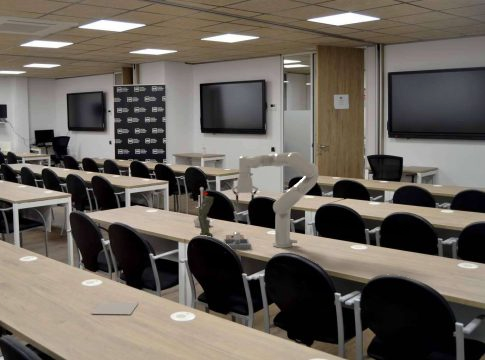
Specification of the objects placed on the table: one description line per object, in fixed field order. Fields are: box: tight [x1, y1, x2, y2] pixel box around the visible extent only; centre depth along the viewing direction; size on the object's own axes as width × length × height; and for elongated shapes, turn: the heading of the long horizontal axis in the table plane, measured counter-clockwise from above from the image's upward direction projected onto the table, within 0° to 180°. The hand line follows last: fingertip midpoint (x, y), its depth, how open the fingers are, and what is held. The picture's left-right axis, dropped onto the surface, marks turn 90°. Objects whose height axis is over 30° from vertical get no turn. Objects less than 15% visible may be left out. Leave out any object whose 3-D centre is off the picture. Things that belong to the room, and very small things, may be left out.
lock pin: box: [232, 231, 241, 244], centre depth 338 cm, size 4×4×8 cm
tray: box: [223, 238, 251, 250], centre depth 338 cm, size 16×16×3 cm
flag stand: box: [193, 186, 211, 228], centre depth 402 cm, size 13×13×30 cm
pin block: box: [225, 234, 246, 239], centre depth 355 cm, size 12×12×2 cm
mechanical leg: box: [197, 195, 214, 237], centre depth 363 cm, size 14×7×30 cm, turn 143°
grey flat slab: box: [91, 301, 139, 315], centre depth 222 cm, size 23×25×1 cm
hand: (244, 201), depth 343 cm, fingers open, 9 cm apart
